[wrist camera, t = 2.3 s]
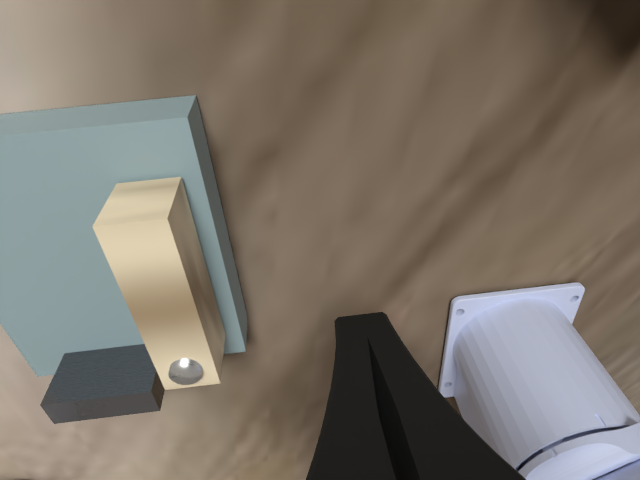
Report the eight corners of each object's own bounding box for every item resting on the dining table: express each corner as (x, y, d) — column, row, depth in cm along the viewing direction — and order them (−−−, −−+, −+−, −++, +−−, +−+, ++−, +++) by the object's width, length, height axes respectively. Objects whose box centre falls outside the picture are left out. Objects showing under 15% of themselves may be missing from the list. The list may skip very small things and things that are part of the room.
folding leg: (225, 333, 23) (219, 389, 20) (176, 339, 23) (163, 395, 20) (181, 176, 17) (165, 223, 15) (116, 183, 17) (89, 231, 15)
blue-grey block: (247, 317, 26) (243, 400, 22) (55, 340, 26) (11, 429, 21) (195, 95, 18) (173, 151, 14) (-80, 122, 18) (-193, 189, 14)
